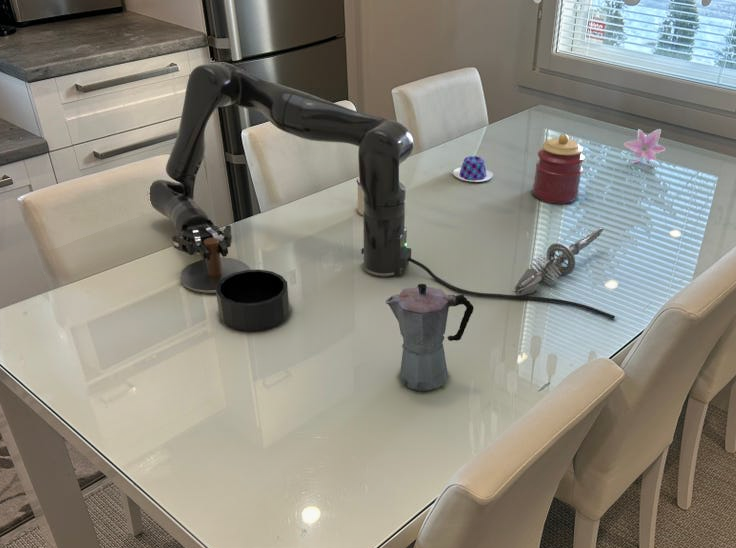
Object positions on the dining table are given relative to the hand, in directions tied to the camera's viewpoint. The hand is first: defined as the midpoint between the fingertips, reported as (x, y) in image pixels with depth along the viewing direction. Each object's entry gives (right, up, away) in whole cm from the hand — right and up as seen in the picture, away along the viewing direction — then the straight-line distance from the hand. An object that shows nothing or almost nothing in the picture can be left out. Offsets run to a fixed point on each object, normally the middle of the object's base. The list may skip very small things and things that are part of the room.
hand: (216, 254), depth 156 cm
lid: (-2, -4, +6) cm, 7 cm away
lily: (+114, +41, +79) cm, 145 cm away
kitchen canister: (+81, +24, +53) cm, 100 cm away
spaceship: (+76, -2, +16) cm, 78 cm away
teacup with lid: (+32, +17, +39) cm, 53 cm away
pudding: (+58, +32, +62) cm, 91 cm away
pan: (+9, -13, -5) cm, 17 cm away
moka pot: (+45, -26, -19) cm, 55 cm away
